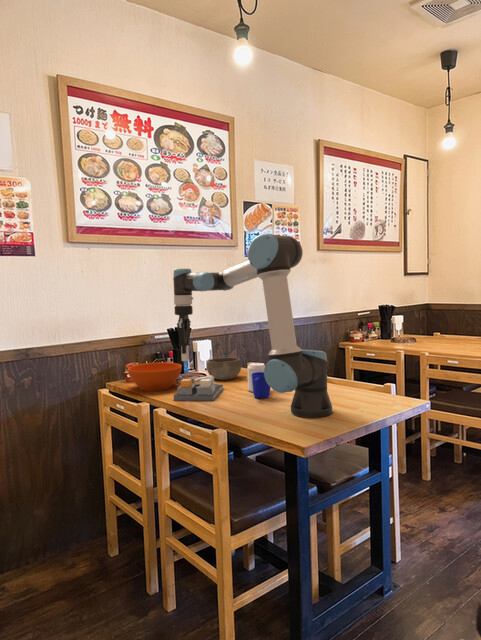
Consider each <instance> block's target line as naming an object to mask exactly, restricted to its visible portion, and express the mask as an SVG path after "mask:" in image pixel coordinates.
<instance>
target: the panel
mask: <svg viewBox="0 0 481 640" xmlns="http://www.w3.org/2000/svg"><path fill="white" fill-rule="evenodd" d="M222 391H224V384H218V383H214V385H211V387H210V388H201V386H200V383H192V386H191V387H190V388H181V384H180V385H178V387H177V388H176V393H175V394H174V395H173V396H172V397H173V401H178V402H179V401H183V402H184V401H185V402H186V401H187V402H188V401H189V402H190V401H191V402H196V401H197V402H202V401H203V402H214V401H215V400H216V398H217V397H218V396H219V395H220V394H221V392H222Z"/></svg>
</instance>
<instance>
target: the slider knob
mask: <svg viewBox="0 0 481 640" xmlns="http://www.w3.org/2000/svg"><path fill="white" fill-rule="evenodd" d="M205 377H206V376H205ZM206 379H211V385H214V384H215V379H214V377H206Z"/></svg>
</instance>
